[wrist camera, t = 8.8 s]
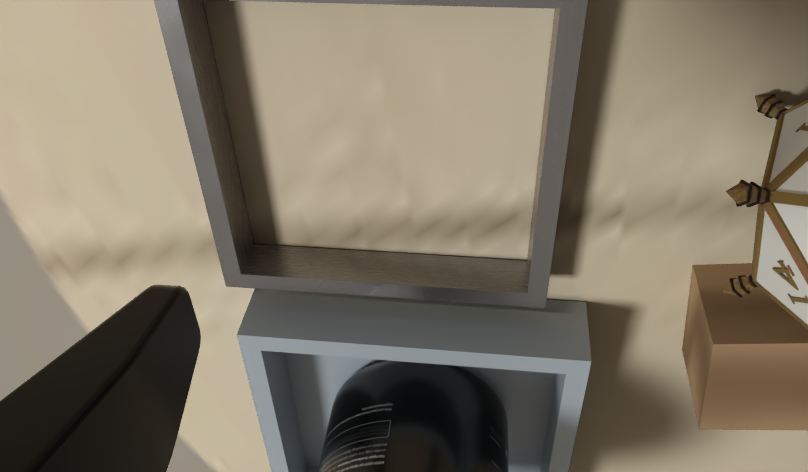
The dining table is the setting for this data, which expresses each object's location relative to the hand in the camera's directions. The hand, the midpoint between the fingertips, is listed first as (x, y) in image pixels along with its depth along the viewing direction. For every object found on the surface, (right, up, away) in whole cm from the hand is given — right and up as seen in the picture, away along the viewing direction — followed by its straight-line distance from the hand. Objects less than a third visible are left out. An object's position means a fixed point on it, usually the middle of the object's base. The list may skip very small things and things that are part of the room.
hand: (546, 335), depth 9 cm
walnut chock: (+11, -1, +15) cm, 19 cm away
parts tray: (-1, -5, +20) cm, 21 cm away
